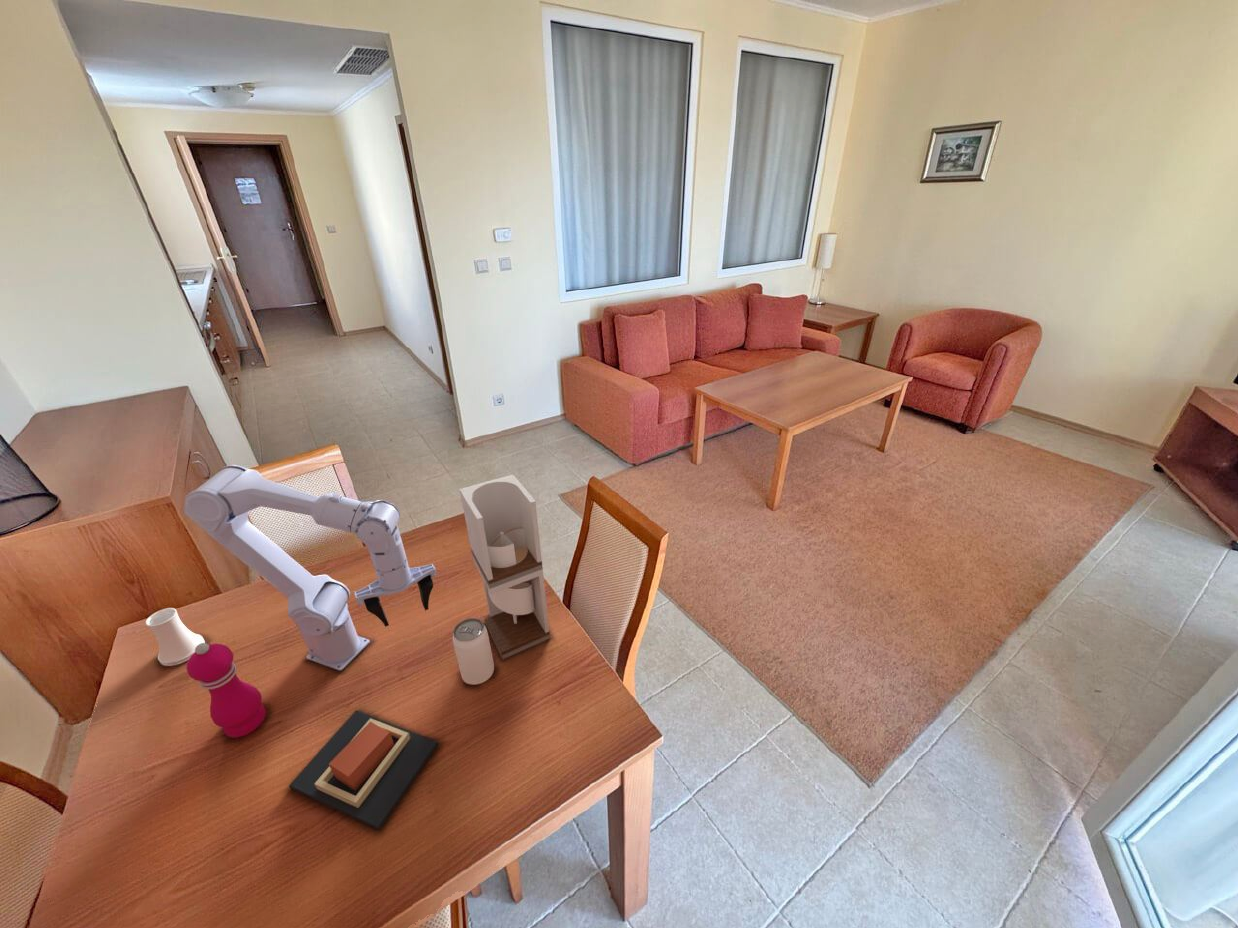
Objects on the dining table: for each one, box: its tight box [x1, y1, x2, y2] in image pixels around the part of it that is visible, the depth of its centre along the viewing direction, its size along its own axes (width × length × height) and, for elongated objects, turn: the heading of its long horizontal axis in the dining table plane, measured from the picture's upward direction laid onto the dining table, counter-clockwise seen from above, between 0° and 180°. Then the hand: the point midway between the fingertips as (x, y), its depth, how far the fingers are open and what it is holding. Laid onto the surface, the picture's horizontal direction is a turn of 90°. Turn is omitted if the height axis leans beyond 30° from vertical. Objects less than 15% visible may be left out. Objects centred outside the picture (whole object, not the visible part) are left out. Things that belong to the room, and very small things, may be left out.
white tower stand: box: [459, 474, 551, 660], centre depth 100 cm, size 11×11×35 cm
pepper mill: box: [186, 642, 267, 739], centre depth 85 cm, size 7×7×20 cm
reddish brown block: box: [329, 722, 395, 791], centre depth 81 cm, size 5×8×4 cm, turn 154°
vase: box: [145, 607, 206, 667], centre depth 102 cm, size 8×8×10 cm
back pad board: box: [288, 709, 439, 831], centre depth 82 cm, size 18×14×2 cm
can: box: [452, 617, 495, 686], centre depth 96 cm, size 6×6×12 cm
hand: (406, 614), depth 100 cm, fingers open, 7 cm apart
